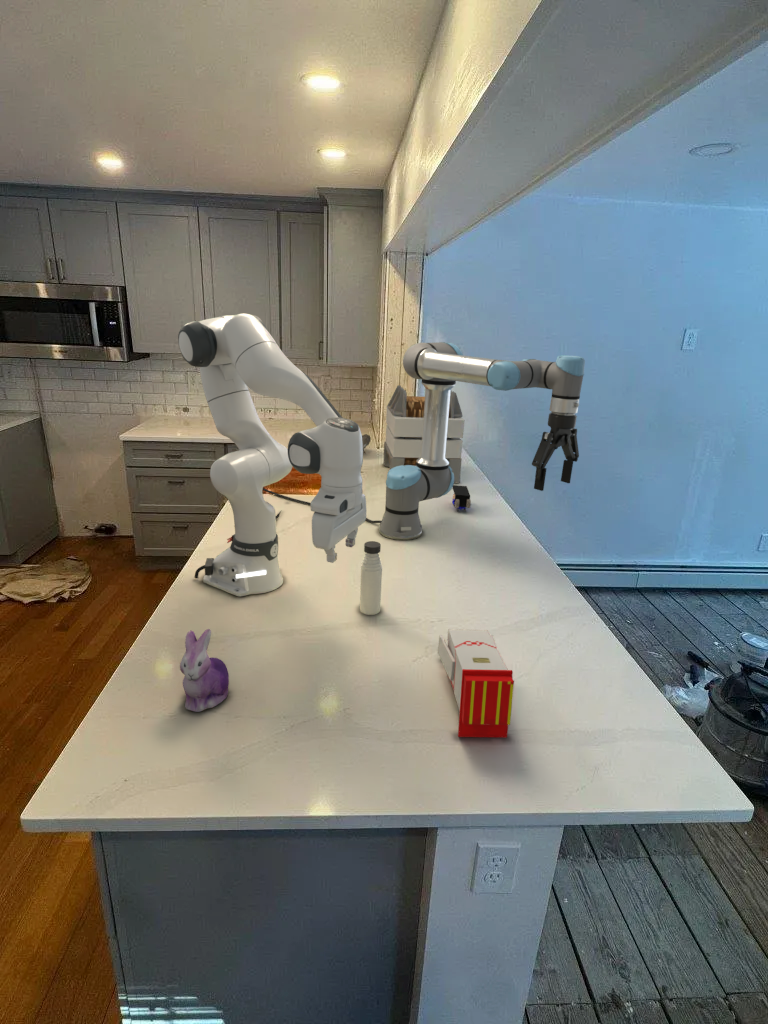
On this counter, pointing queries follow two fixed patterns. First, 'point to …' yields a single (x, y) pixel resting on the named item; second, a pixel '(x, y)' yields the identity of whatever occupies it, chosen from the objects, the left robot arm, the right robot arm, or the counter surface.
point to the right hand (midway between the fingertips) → (552, 485)
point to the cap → (372, 547)
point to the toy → (478, 682)
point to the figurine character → (461, 497)
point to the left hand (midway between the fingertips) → (341, 553)
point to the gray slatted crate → (419, 431)
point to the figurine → (202, 674)
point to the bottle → (370, 584)
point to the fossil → (365, 441)
